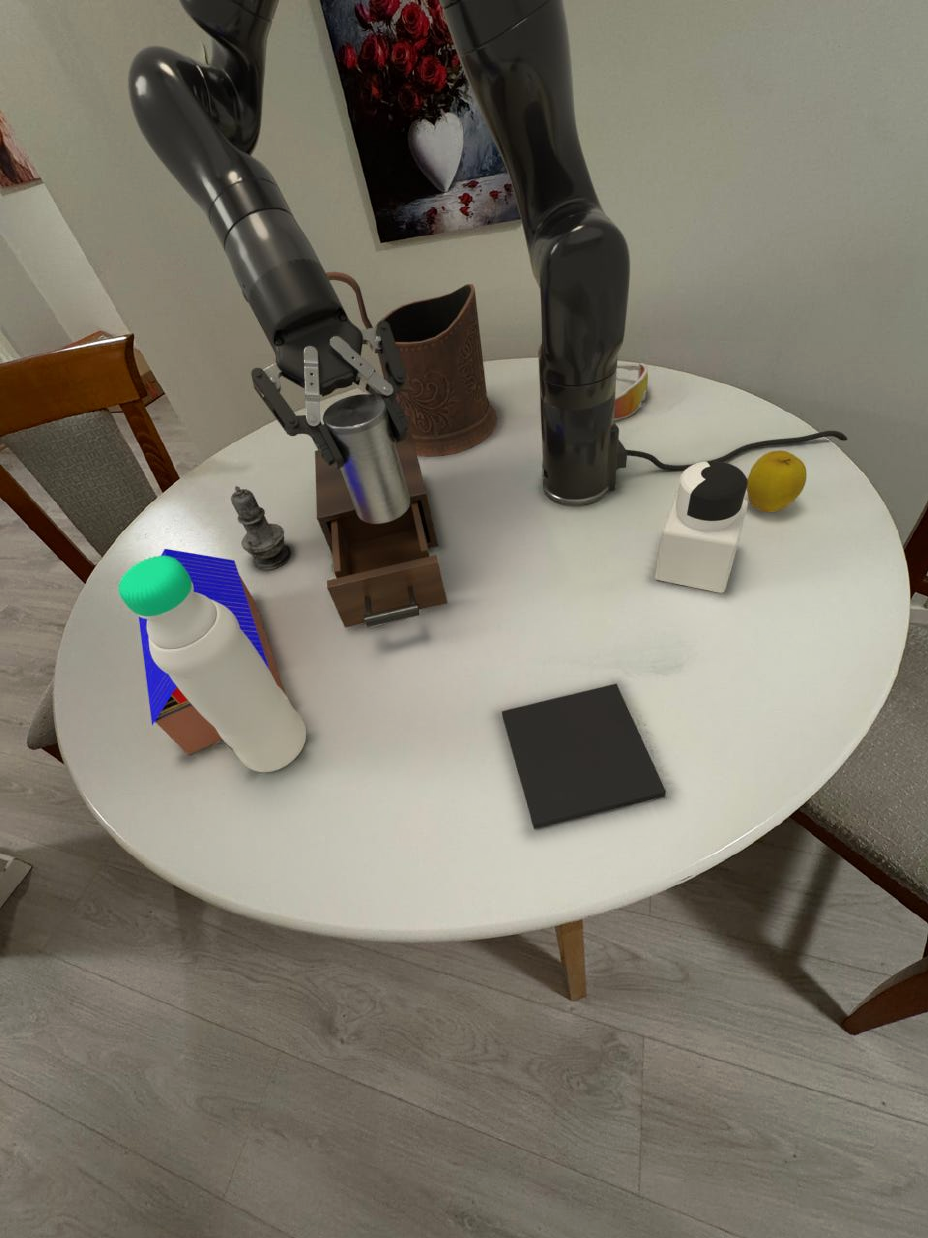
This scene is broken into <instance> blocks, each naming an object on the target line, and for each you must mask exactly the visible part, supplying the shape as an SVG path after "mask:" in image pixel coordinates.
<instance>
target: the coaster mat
mask: <svg viewBox="0 0 928 1238" xmlns="http://www.w3.org/2000/svg"><path fill="white" fill-rule="evenodd" d="M501 716H502V720H503V723H504V727H505V731H506V735H507V737H508V741H509V745H510V748H511V752H512V756H513V760H514V763H515V766H516V770H517V774H518V778H519V781H520V784H521V788H522V792H523V795H524V798H525V802H526V806H527V810H528V813H529V818H530V821H531V824H532V827H533V829H534V830H537V829H539V828H544V827H548V826H551V825H557V824H560V823H565V822H568V821H572V820H576V819H580V818H583V817H588V816H593V815H597V814H600V813H605V812H608V811H612V810H617V809H620V808H624V807H629V806H632V805H636V804H640V803H641V804H642V803H645V802H648V801H653V800H657V799H661V798H665V797H666V793H667V790H666V788H665V785H664V783H663V781H662V780H661V778H660V775H659V773H658V770H657V769H656V766H655V764H654V762H653V760H652V758H651V755H650V753H649V751H648V748H647V747H646V745H645V742H644V739H643V738H642V736H641V733H640V731H639V729H638V727H637V725H636V723H635V721H634V718H633V716H632V714H631V712H630V710H629V708H628V705H627V704H626V701H625V699H624V696H623V694H622V692H621V690H620V688H619V686H618V684H617V683H613V684H609V685H604V686H601V687H595V688H592V689H588V690H583V691H580V692H576V693H575V692H574V693H572V694H567V695H564V696H563V695H562V696H559V697H555V698H551V699H547V700H542V701H539V702H534V703H530V704H526V705H522V706H517V707H513V708H510V709H506V710H505V709H504V710H502V711H501Z"/></svg>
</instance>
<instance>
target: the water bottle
mask: <svg viewBox="0 0 928 1238" xmlns="http://www.w3.org/2000/svg"><path fill="white" fill-rule="evenodd" d="M193 591H194V587H193V583H192V581H191V578H190V576H189V574H188V572H187V571H186V569H185V568H184V567H183V566H182V564H181V563H180V562H179V561H177V560H176V559H175V558H172V557H170V556H161V555H157V556H153V557H148V558H144V559H143V560H140V561H138V562H137V563H135V564H134V565H132V566H131V567H130V568H129V569H127V571H126V572H124V573H123V575H122V577H121V579H120V580H119V583H118V595H119V596H120V599H121V600H122V601H123V603H124V604H125V605H126V607H127V608H128V609H129V610H130V611H131V612H133V613H134V614H136V615H137V616H138V618H139V617H141V618H144V619H147V633H148V636H149V649H150V653H151V656H152V658H153V660H154V662H155V663H156V665H157V666H158V667H159V668H160V669H161V670H162V671H164V672H165V673H167V674H169V676H170V677H171V679H172V680H173V682H174V683H175V685H176V686H177V687H178V688H179V690H180V691H181V692H182V693H183V695H184V696H185V697H186V698H187V699H188V701H189V702H190V703H191V704H192V705H193V706H194V707H195V708H196V710H197V711H198V712H199V713H200V714H201V715H202V716H203V717H204V718H205V719H206V720H207V721H208V722H209V723H210V724H211V725H213V726H214V727H215V728H216V730H217V732H218V734H219V735H220V737H221V738H222V740H223V742H224V743H226V745H227V746H228V747H230V748H231V749H232V750H233V752H234V754H235V756H236V757H237V758H238V759H239V760H240V761H241V762H242V764H243V765H244V766H245V767H247V768H248V769H250V770H251V771H254V772H257V773H271V772H274V771H278V770H280V769H283V768H284V767H286V766H288V765H289V764H291V763H292V762H293V761H294V760H295V759H296V758H297V757H298V756H299V755H300V753H301V752H302V750H303V748H304V747H305V744H306V739H307V729H306V725H305V722H304V720H303V718H302V717H301V715H300V714H299V712H298V711H296V709H295V707H293V705H292V704H291V701H290V699H289V697H288V696H287V694H286V692H285V693H284V692H283V691H282V689H281V688H280V687H279V686H278V685H277V684H276V682H275V680H274V678H273V676H272V674H271V672H270V671H269V669H268V667H267V666H266V664H265V662H264V661H263V659H262V658H261V656H260V655H259V653H258V652H257V650H256V649H255V647H254V646H253V644H252V643H251V642H250V640H249V639H248V638H247V636H246V635H245V634H244V633H243V631H242V630H241V629H240V627H239V623H238V621H237V619H236V617H235V616H234V614H233V613H232V612H231V611H230V610H229V609H228V608H226V607H225V606H223V605H222V604H220V603H218V602H215V601H213V600H211V599H209V598H207V597H206V596H204V595H202V594H200V593H196V592H193ZM285 694H286V695H285Z"/></svg>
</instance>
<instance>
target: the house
mask: <svg viewBox="0 0 928 1238" xmlns="http://www.w3.org/2000/svg"><path fill="white" fill-rule="evenodd" d="M160 556H170V557H172V558H175V559H176V560H177V561H179V562H180V563H181V564H182V566H183V567H184V568H185V569H186V571H187V572H188V574H189V576H190V578H191V581H192V583H193V587H194V591H193V592H196V593H200V594H202V595H204V596H206V597H207V598H209V599H211V600H213V601H215V602H218V603H220V604H222V605H223V606H225V607H226V608H228V609H229V610H230V611H231V612H232V613H233V614H234V616H235V617H236V619H237V621H238V623H239V627H240V629H241V630H242V631H243V633H244V634H245V635H246V636H247V638H248V639H249V640H250V642H251V643H252V644H253V646H254V647H255V649H256V650H257V652H258V653H259V655H260V656H261V658H262V659H263V661H264V662H265V664H266V666H267V667H268V669H269V671H270V672H271V674H272V676H273V678H274V680H275V682H276V684H277V685H278V686H279V687H280V688H281V689H282V691H283V692H284V693H285V695H286V696H287V694H286V691H285V688H284V685H283V682H282V679H281V676H280V673H279V670H278V666H277V664H276V661H275V658H274V655H273V652H272V649H271V646H270V643H269V640H268V637H267V634H266V631H265V628H264V625H263V622H262V619H261V616H260V613H259V610H258V607H257V604H256V600H255V599H254V597H253V595H252V594H251V592H250V591H249V589H248V587H247V585H246V584H245V582H244V580H243V578H242V577H241V575H240V573H239V571H238V568H237V567H238V566H237V564H236V562H235V559H228V558H223V557H217V556H209V555H204V554H199V553H193V552H187V551H181V550H176V549H169V548H164V549H163V551H162V553H161V554H160ZM138 624H139V631H140V639H141V646H142V647H141V648H142V655H143V661H144V663H143V665H144V672H145V679H146V680H145V681H146V687H147V696H148V703H149V713H150V720H151V721H150V722H151V726H154V724H155V723H156V724H157V726H159V727H160V728H161V729H162V730H163V731H164V732H165V734H167V735H168V736H169V738H171V739H172V740H173V741H174V742H175V744H177V745H178V746H179V748H181V749H182V750H183V751H184V752H185V753H186V754H187V755H188V756H189V755H192V754H194V753H196V752H198V751H200V750H202V749H205V748H206V747H209V746H211V745H213V744H216V743H217V742H219V741H222V740H223V739H222V738H221V737H220V735H219V734H218V732H217V730H216V728H215V727H214V726H213V725H211V724H210V723H209V722H208V721H207V720H206V719H205V718H204V717H203V716H202V715H201V714H200V713H199V712H198V711H197V710H196V708H195V707H194V706H193V705H192V704H191V703H190V702H189V701H188V699H187V698H186V697H185V696H184V695H183V693H182V692H181V691H180V690H179V688H178V687H177V686H176V685H175V683H174V682H173V680H172V679H171V677H170V676H169V674H167V673H165V672H164V671H162V670H161V669H160V668H159V667H158V666H157V665H156V663H155V662H154V660H153V658H152V656H151V653H150V649H149V636H148V633H147V619H144V618H141V617H139V616H138Z"/></svg>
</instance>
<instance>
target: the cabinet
mask: <svg viewBox="0 0 928 1238" xmlns="http://www.w3.org/2000/svg"><path fill="white" fill-rule="evenodd" d="M406 433H407V435H406V437H405V440H403V441H401V442H398V443H397V442H396V440H395V438H394V440H395V444H396V447H397V451H398V455H399V459H400V463H401V466H402V470H403V474H404V478H405V482H406V485H407V489H408V493H409V497H410V502H415V501H417V503H418V507H419V511H420V516H421V520H422V524H423V528H424V532H425V537H426V541H427V545H428V549H432V548H436V547H439V542H438V538H437V533H436V528H435V525H434V524H435V523H434V520H433V515H432V511H431V507H430V502H429V498H428V497H429V496H428V494H427V489H426V485H425V481H424V478H423V473H422V470H421V466H420V465H421V464H420V461H419V457H418V455H417V453H416V450H415V446H414V442H413V438H412V434H411V430H410V429H408V430H407V431H406ZM314 467H315V468H314V469H315V470H314V471H315V499H316V500H315V501H316V520H317V522H318V524H319V527H320V530H321V532H322V535H323V537H324V538H325V541H326V544H327V546H328V548H329V551H330V554H331V556H332V557H333V548H332V531H331V521H333V520H337V519H341V518H346V517H350V516H354V515H357V513H356V510H355V507H354V505H353V502H352V499H351V496H350V493H349V491H348V488H347V485H346V482H345V479H344V476H343V474H342V471H341V468H339V469H336V468H335V467H334V465H333V464H332V465H330V466H328V465H327V464H326V463H325V462H324V460H323V458H322V456H321V455H320V453H319V451H318V449H317V450H315V451H314Z"/></svg>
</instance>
